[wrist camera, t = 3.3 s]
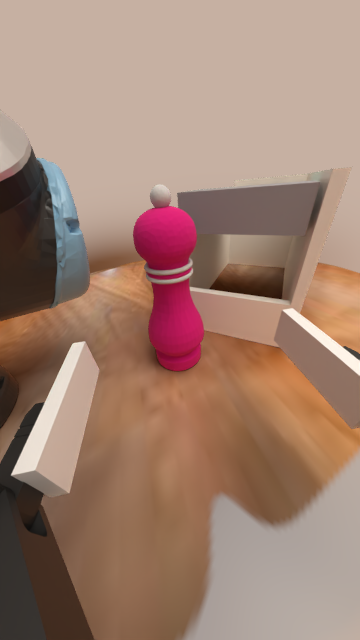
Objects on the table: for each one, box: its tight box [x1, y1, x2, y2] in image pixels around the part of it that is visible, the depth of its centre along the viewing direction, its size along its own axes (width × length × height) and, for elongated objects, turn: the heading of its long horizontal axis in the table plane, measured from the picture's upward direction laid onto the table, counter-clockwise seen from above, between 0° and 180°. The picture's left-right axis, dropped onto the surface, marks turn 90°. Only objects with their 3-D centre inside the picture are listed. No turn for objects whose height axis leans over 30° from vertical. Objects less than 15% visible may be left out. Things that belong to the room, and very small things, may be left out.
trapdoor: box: [177, 180, 320, 236], centre depth 28 cm, size 14×22×4 cm, turn 154°
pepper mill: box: [133, 185, 204, 371], centre depth 21 cm, size 7×7×20 cm
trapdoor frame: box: [189, 167, 351, 348], centre depth 36 cm, size 19×34×20 cm, turn 154°
